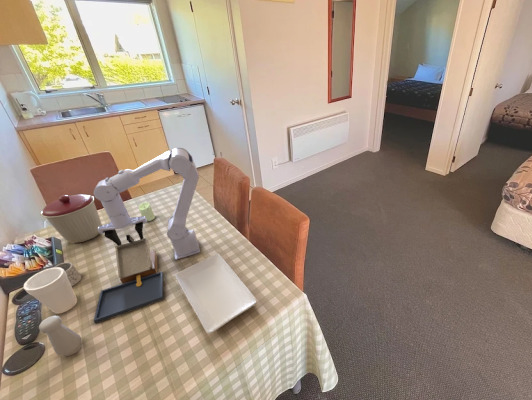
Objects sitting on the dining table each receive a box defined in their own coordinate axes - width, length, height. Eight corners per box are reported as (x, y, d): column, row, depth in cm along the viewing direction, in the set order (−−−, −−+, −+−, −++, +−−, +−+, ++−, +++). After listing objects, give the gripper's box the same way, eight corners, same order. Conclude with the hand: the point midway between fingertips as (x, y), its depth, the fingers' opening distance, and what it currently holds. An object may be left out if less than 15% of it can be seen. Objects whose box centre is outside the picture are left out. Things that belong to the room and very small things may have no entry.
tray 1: (163, 273, 101) (162, 271, 100) (163, 299, 91) (162, 296, 90) (102, 293, 93) (100, 290, 93) (95, 323, 83) (93, 320, 83)
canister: (70, 253, 112) (42, 212, 101) (54, 239, 120) (26, 199, 109) (117, 231, 125) (97, 192, 114) (99, 219, 133) (78, 182, 122)
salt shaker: (69, 340, 79) (45, 312, 72) (89, 338, 79) (67, 310, 72) (54, 360, 74) (26, 332, 67) (75, 358, 74) (50, 330, 67)
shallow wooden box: (157, 255, 110) (155, 249, 108) (157, 274, 101) (154, 268, 99) (126, 264, 106) (123, 258, 104) (123, 285, 96) (119, 279, 95)
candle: (151, 221, 131) (145, 207, 126) (141, 221, 131) (135, 207, 127) (157, 215, 135) (151, 202, 131) (147, 215, 135) (141, 202, 131)
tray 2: (209, 341, 78) (206, 334, 76) (176, 280, 98) (173, 273, 96) (260, 308, 87) (258, 301, 85) (220, 258, 108) (218, 252, 106)
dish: (147, 235, 104) (143, 230, 100) (153, 268, 99) (148, 264, 95) (117, 243, 101) (111, 238, 96) (121, 278, 95) (115, 275, 91)
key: (135, 276, 97) (135, 276, 97) (141, 275, 98) (141, 274, 98) (136, 287, 95) (136, 287, 94) (142, 285, 96) (141, 285, 95)
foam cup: (62, 320, 85) (39, 292, 78) (39, 315, 86) (15, 287, 80) (89, 296, 92) (71, 269, 86) (68, 292, 94) (48, 265, 87)
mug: (79, 272, 102) (71, 259, 99) (82, 281, 98) (73, 268, 95) (45, 286, 96) (35, 273, 93) (46, 297, 92) (35, 284, 89)
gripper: (141, 202, 100) (153, 230, 107) (94, 212, 94) (110, 241, 101) (140, 211, 94) (152, 240, 101) (90, 222, 89) (107, 252, 96)
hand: (131, 242), depth 101 cm, fingers closed on dish, 6 cm apart
